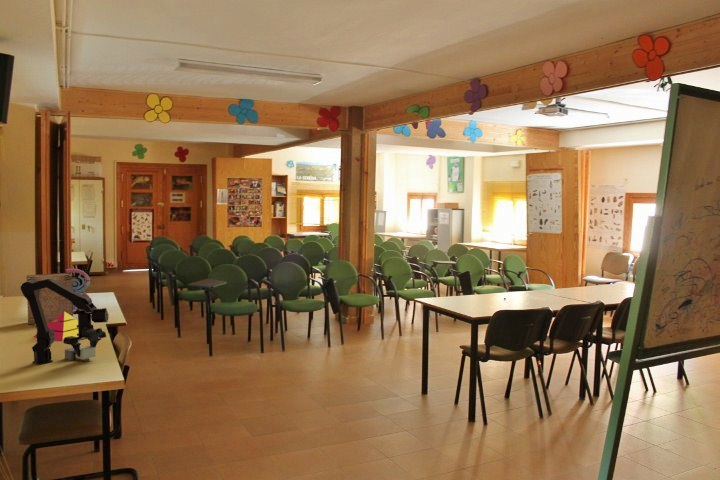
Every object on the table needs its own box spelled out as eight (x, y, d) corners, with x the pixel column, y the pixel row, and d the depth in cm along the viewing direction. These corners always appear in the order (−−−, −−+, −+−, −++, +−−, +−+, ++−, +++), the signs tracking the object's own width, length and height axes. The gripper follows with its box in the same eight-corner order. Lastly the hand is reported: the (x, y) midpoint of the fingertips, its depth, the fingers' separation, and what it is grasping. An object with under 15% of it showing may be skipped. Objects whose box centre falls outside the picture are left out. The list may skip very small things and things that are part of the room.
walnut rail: (83, 361, 283) (83, 356, 282) (71, 358, 288) (71, 353, 288) (89, 360, 285) (89, 354, 285) (77, 357, 290) (77, 352, 290)
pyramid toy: (99, 333, 345) (98, 309, 344) (62, 342, 322) (61, 317, 321) (67, 329, 355) (67, 306, 354) (30, 338, 332) (29, 313, 331)
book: (27, 325, 365) (26, 276, 363) (28, 322, 373) (26, 275, 371) (73, 321, 377) (71, 274, 375) (72, 318, 385) (71, 272, 383)
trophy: (91, 308, 419) (90, 266, 417) (91, 312, 404) (89, 269, 402) (60, 310, 412) (58, 268, 410) (58, 315, 396) (56, 270, 394)
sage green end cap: (76, 357, 282) (75, 348, 282) (88, 354, 288) (88, 345, 288) (82, 359, 279) (82, 350, 279) (95, 356, 285) (95, 347, 285)
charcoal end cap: (84, 357, 290) (83, 348, 290) (71, 360, 285) (71, 351, 285) (77, 355, 293) (77, 346, 293) (64, 358, 288) (64, 349, 287)
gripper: (75, 328, 270) (77, 362, 271) (112, 321, 286) (113, 353, 287) (62, 325, 277) (63, 358, 278) (98, 318, 292) (99, 350, 293)
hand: (85, 355), depth 284 cm, fingers closed on sage green end cap, 7 cm apart
